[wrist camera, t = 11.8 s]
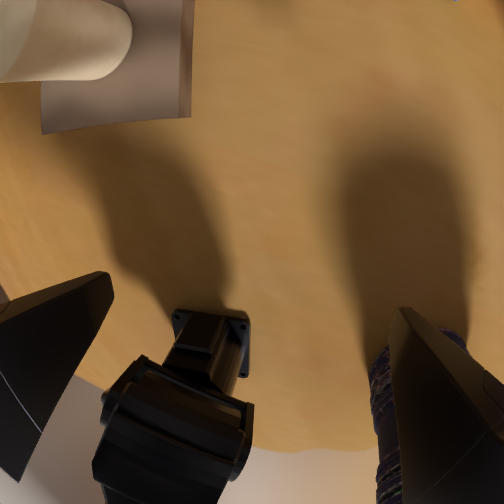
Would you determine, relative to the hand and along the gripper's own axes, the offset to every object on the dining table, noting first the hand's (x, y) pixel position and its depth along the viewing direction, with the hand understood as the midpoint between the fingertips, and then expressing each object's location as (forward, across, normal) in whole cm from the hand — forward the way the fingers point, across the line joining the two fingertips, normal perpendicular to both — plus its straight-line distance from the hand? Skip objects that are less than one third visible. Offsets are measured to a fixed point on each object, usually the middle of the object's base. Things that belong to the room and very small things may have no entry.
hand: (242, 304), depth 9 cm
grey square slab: (+12, +12, -11) cm, 20 cm away
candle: (+10, +12, -11) cm, 19 cm away
